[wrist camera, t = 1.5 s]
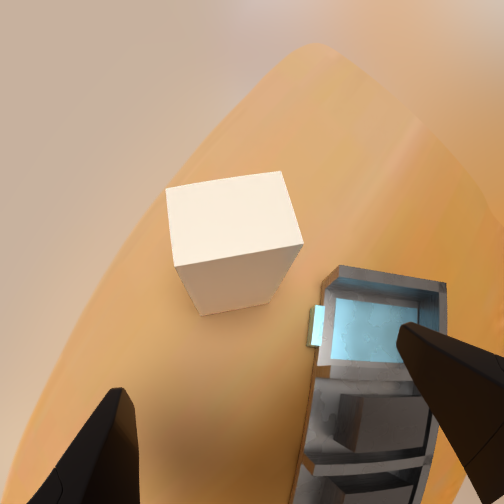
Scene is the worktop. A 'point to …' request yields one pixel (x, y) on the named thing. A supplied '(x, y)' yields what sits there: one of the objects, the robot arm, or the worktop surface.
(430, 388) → the robot arm
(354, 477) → the rack
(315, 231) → the worktop surface
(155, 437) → the worktop surface
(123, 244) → the worktop surface
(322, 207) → the worktop surface
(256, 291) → the white rectangular block
